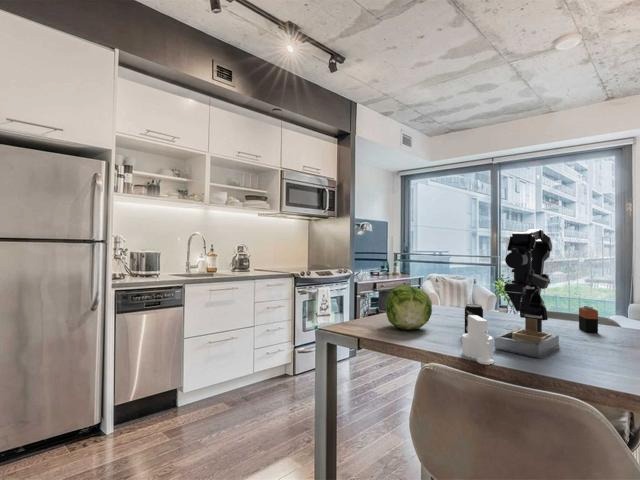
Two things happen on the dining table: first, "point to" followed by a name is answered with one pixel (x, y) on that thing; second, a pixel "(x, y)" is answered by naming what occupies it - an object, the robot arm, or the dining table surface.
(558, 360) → the dining table surface
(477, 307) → the beverage can
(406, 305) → the lettuce
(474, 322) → the white stepped block
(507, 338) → the bay
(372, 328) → the dining table surface
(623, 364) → the dining table surface
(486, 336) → the chess piece
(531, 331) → the box
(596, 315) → the battery
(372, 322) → the dining table surface
